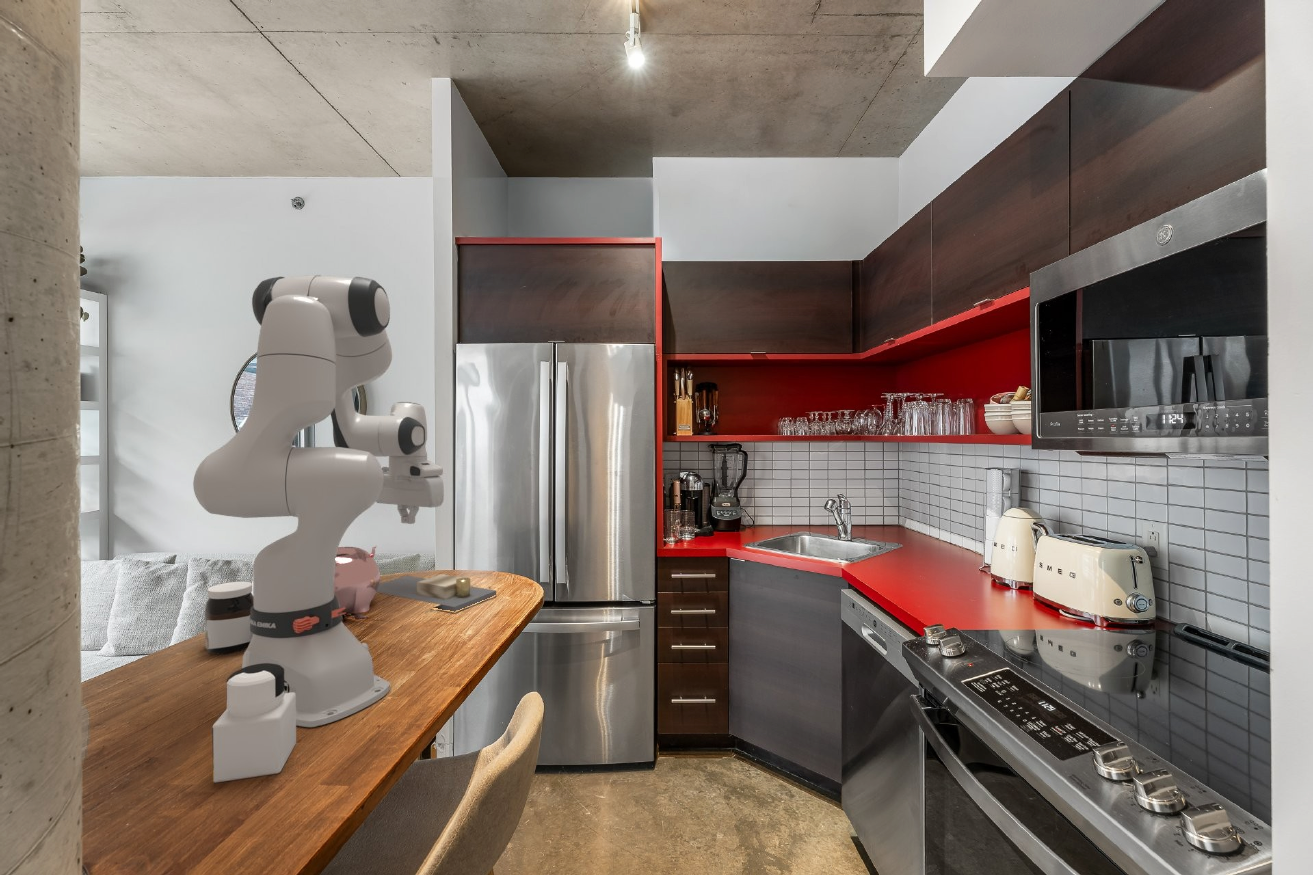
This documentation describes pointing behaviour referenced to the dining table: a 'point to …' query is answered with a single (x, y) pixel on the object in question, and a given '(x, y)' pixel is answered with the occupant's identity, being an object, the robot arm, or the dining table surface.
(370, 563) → the piggy bank
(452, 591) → the beige flat block
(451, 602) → the board
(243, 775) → the medicine bottle
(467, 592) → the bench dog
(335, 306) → the robot arm
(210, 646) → the spread jar
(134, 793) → the dining table surface
